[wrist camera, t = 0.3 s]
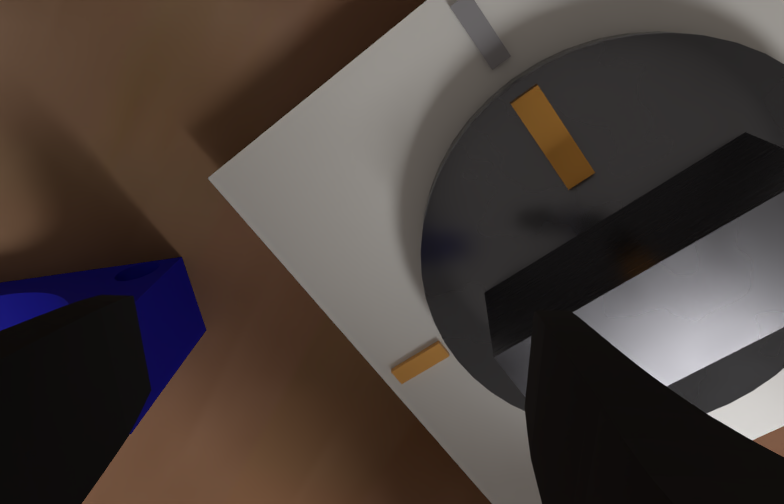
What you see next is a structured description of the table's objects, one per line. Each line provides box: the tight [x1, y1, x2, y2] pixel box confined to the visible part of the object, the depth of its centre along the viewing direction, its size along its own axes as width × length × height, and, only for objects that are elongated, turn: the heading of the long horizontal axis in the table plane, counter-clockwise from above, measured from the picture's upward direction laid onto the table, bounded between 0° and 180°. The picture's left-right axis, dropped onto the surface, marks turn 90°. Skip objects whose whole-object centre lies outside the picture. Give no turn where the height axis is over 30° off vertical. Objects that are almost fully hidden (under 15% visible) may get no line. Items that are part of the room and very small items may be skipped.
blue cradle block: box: [0, 257, 206, 434], centre depth 20 cm, size 12×4×6 cm, turn 100°
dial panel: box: [208, 0, 784, 504], centre depth 19 cm, size 18×18×2 cm
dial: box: [421, 31, 784, 413], centre depth 16 cm, size 12×12×4 cm
